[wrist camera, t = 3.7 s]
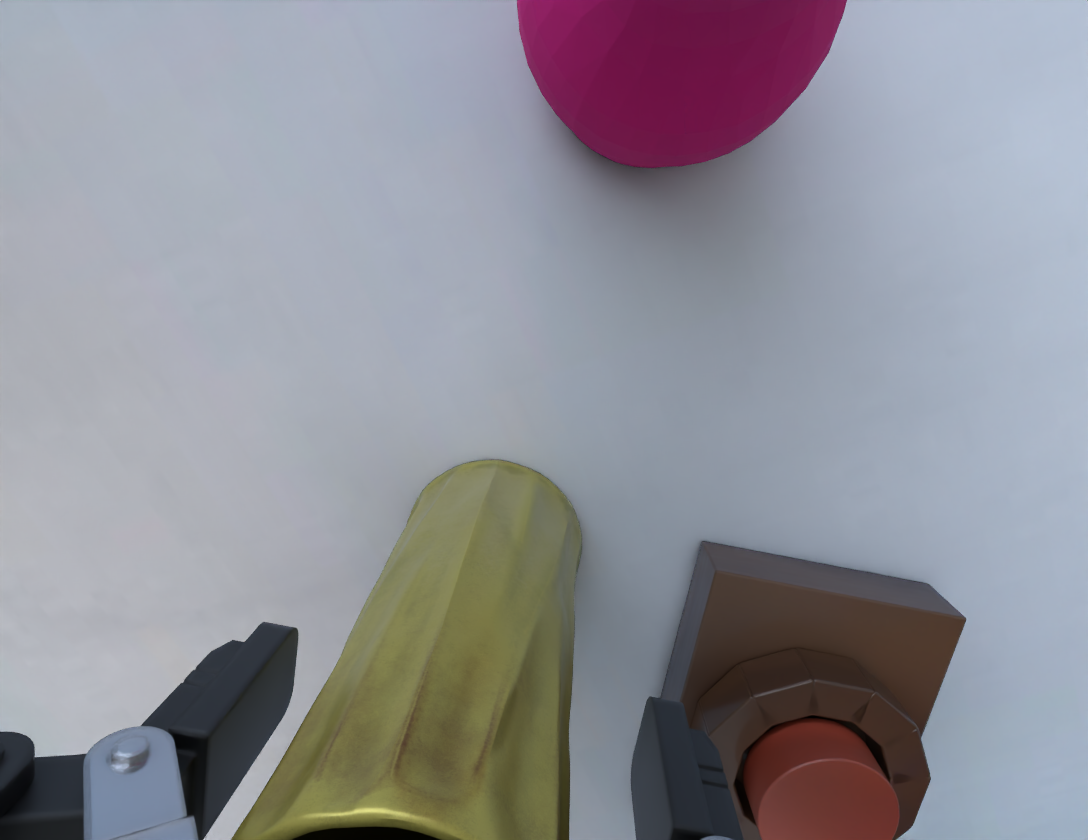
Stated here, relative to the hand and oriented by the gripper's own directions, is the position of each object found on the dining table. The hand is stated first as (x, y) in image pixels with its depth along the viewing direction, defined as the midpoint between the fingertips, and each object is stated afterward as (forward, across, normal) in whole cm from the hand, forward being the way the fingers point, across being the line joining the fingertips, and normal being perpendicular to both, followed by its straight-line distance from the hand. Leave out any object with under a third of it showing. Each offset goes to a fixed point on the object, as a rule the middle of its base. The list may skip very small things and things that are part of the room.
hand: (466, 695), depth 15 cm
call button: (+5, -11, +4) cm, 12 cm away
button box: (+9, -11, +4) cm, 14 cm away
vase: (+9, 0, 0) cm, 9 cm away
